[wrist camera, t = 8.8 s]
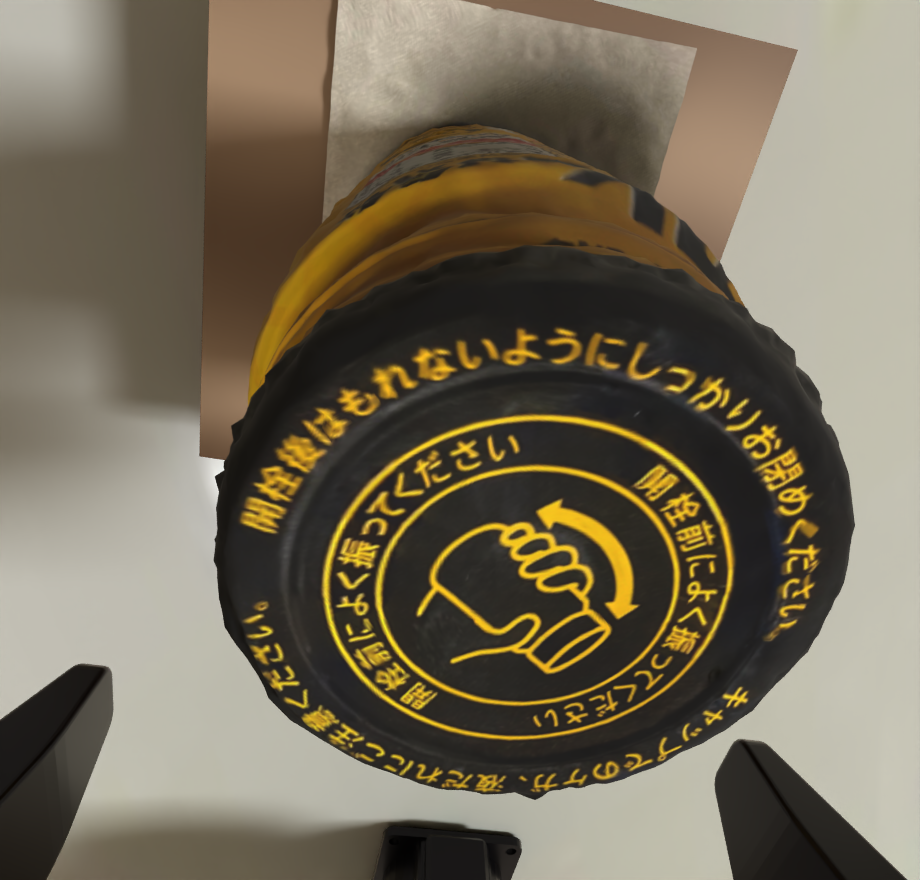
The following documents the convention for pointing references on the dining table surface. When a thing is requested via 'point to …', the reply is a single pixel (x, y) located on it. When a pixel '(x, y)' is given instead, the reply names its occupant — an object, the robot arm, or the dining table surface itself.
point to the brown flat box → (305, 154)
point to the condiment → (518, 426)
